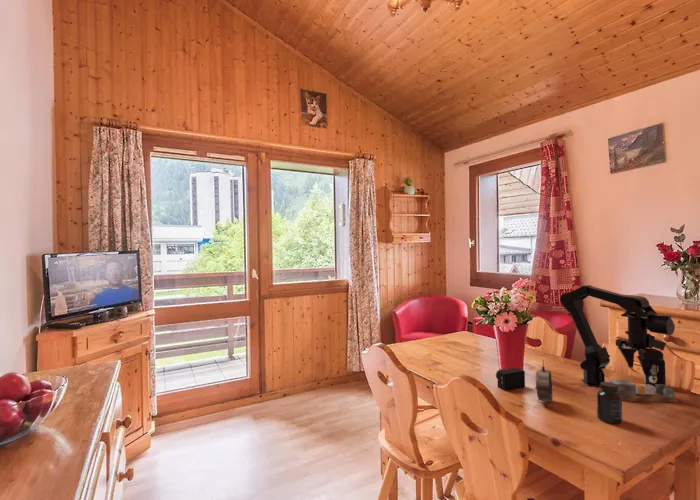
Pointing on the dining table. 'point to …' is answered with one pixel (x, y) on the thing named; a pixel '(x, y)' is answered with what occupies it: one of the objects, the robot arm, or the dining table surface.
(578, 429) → the dining table surface
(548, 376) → the alarm clock
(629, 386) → the tube stand
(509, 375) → the digital camera
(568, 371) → the dining table surface
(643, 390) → the grey rectangular bar
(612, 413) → the supplement bottle
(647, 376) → the beverage can
